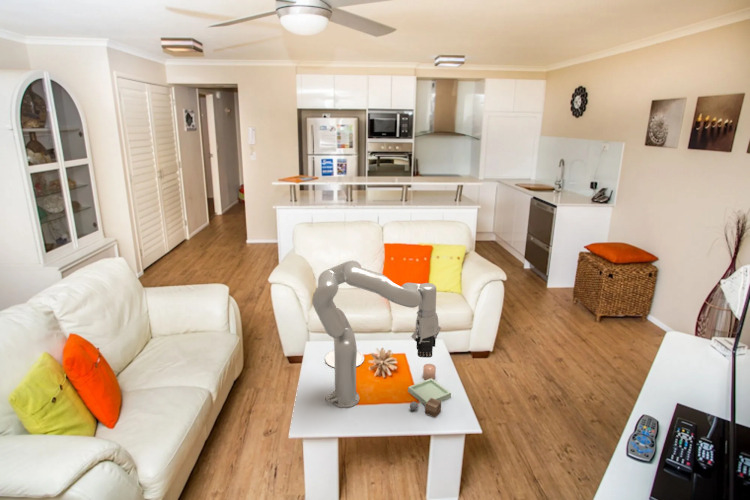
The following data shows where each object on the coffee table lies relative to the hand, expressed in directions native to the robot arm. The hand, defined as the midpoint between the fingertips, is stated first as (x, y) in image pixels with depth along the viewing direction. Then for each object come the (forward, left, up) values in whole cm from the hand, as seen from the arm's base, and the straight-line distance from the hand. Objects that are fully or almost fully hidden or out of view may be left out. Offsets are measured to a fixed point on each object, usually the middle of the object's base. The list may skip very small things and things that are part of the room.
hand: (426, 347), depth 198 cm
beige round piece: (+12, +10, -25) cm, 29 cm away
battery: (0, 0, -5) cm, 5 cm away
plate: (-15, +47, -25) cm, 55 cm away
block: (-4, -12, -25) cm, 28 cm away
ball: (-10, -6, -25) cm, 27 cm away
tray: (+3, -1, -25) cm, 25 cm away
